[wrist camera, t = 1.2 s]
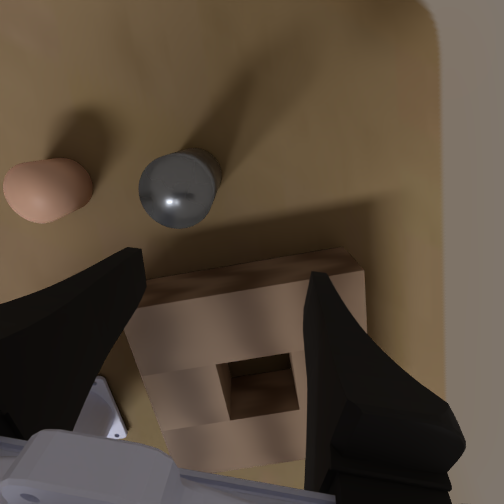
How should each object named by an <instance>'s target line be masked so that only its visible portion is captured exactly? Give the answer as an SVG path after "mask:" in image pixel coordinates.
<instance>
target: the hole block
mask: <svg viewBox="0 0 504 504" xmlns="http://www.w3.org/2000/svg"><path fill="white" fill-rule="evenodd" d="M311 271H316V272H323V273H327V274H328V276H329V278H330V279H331V281H332V283H333V285H334V287H335V289H336V290H337V292H338V294H339V295H340V297H341V299H342V300H343V302H344V303H345V305H346V306H347V308H348V309H349V311H350V312H351V314H352V315H353V317H354V318H355V319H356V321H357V322H358V323H359V325H360V326H361V327H362V328H363V330H364V331H365V332H366V333H367V317H366V296H365V275H364V269H363V268H362V267H361V266H360V265H359V264H358V263H357V262H356V261H355V259H354V258H353V257H352V256H351V255H350V254H349V253H348V252H347V251H346V249H345V248H344V247H338V248H332V249H326V250H320V251H314V252H308V253H302V254H297V255H291V256H285V257H279V258H273V259H267V260H261V261H255V262H249V263H243V264H237V265H232V266H226V267H220V268H214V269H208V270H202V271H196V272H190V273H184V274H178V275H172V276H167V277H161V278H155V279H149V280H146V284H147V287H146V290H145V292H144V294H143V297H142V299H141V301H140V303H139V305H138V307H137V309H136V310H135V312H134V314H133V315H132V317H131V319H130V320H129V322H128V323H127V325H126V326H125V328H124V332H125V334H126V337H127V340H128V343H129V345H130V348H131V351H132V353H133V356H134V359H135V362H136V364H137V367H138V370H139V372H140V375H141V378H142V381H143V383H144V386H145V389H146V391H147V394H148V397H149V400H150V402H151V405H152V408H153V410H154V413H155V416H156V418H157V421H158V424H159V427H160V429H161V432H162V435H163V437H164V440H165V443H166V446H167V448H168V451H169V454H170V456H171V457H172V459H173V460H174V462H175V463H176V465H177V467H178V468H183V469H189V470H195V471H200V472H206V473H217V472H223V471H230V470H237V469H243V468H250V467H256V466H263V465H270V464H276V463H283V462H289V461H296V460H303V459H306V428H307V375H306V363H305V351H304V339H303V309H304V304H305V299H306V294H307V289H308V285H309V280H310V275H311ZM284 353H289V359H290V366H291V369H286V370H280V371H274V372H267V373H261V374H255V375H248V376H242V377H236V378H231V374H230V369H229V365H228V362H234V361H240V360H246V359H253V358H259V357H265V356H271V355H277V354H284Z"/></svg>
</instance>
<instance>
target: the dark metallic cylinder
mask: <svg viewBox="0 0 504 504" xmlns="http://www.w3.org/2000/svg"><path fill="white" fill-rule="evenodd" d="M220 183H221V169H220V166H219V163H218V162H217V160H216V159H215V157H214V156H213V155H212V154H210V153H209V152H207V151H205V150H203V149H199V148H189V149H185V150H182V151H178V152H175V153H172V154H168V155H165V156H162V157H159V158H157V159H155V160H154V161H152V162H151V163H150V164H149V165H148V166H147V167H146V168H145V170H144V171H143V173H142V175H141V178H140V181H139V196H140V200H141V203H142V205H143V207H144V209H145V210H146V212H147V213H148V214H149V216H150V217H151V218H153V219H154V220H155V221H156V222H158V223H160V224H161V225H164V226H166V227H170V228H176V229H181V228H188V227H191V226H194V225H195V224H197V223H199V222H200V221H201V220H202V219H204V218H205V216H206V215H207V214H208V212H209V210H210V208H211V206H212V203H213V201H214V198H215V196H216V193H217V191H218V188H219V186H220Z"/></svg>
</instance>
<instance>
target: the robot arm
mask: <svg viewBox="0 0 504 504" xmlns="http://www.w3.org/2000/svg"><path fill="white" fill-rule="evenodd" d="M146 287H147V284H146V277H145V270H144V263H143V256H142V249H138V248H130V247H127V248H125V249H123V250H121V251H119V252H117V253H115V254H113V255H111V256H109V257H108V258H106V259H104V260H102V261H100V262H98V263H97V264H95V265H93V266H91V267H89V268H87V269H85V270H84V271H81V272H79V273H77V274H75V275H73V276H71V277H69V278H67V279H65V280H63V281H61V282H59V283H57V284H54V285H52V286H50V287H47V288H45V289H42V290H40V291H37V292H35V293H32V294H30V295H27V296H24V297H21V298H18V299H15V300H12V301H9V302H6V303H3V304H0V504H452V502H451V499H450V496H449V494H448V491H451V490H452V486H451V482H450V480H449V477H448V474H447V472H448V471H449V470H450V468H451V467H452V466H453V465H454V464H455V463H456V462H457V461H458V459H459V458H460V457H461V456H462V454H463V452H464V450H465V448H466V441H465V438H464V436H463V434H462V431H461V429H460V426H459V424H458V422H457V420H456V418H455V416H454V414H453V412H452V410H451V408H450V406H449V404H448V403H447V402H445V401H444V400H443V399H441V398H440V397H438V396H437V395H436V394H434V393H433V392H431V391H430V390H429V389H427V388H426V387H424V386H423V385H422V384H420V383H419V382H418V381H417V380H415V379H414V378H413V377H412V376H410V375H409V374H408V373H407V372H405V371H404V370H403V369H402V368H401V367H400V366H399V365H397V364H396V363H395V362H394V361H393V360H392V359H391V358H390V357H389V356H388V355H387V354H386V353H385V352H384V351H382V350H381V349H380V348H379V346H378V345H377V344H376V343H375V342H374V341H373V340H372V339H371V338H370V337H369V336H368V334H367V333H366V332H365V331H364V330H363V328H362V327H361V326H360V325H359V323H358V322H357V321H356V319H355V318H354V317H353V315H352V314H351V312H350V311H349V309H348V308H347V306H346V305H345V303H344V302H343V300H342V299H341V297H340V295H339V294H338V292H337V290H336V289H335V287H334V285H333V283H332V281H331V279H330V278H329V276H328V274H327V273H323V272H316V271H311V275H310V280H309V285H308V289H307V294H306V299H305V304H304V309H303V339H304V351H305V363H306V375H307V428H306V459H305V483H304V490H302V489H296V488H290V487H285V486H279V485H274V484H268V483H262V482H257V481H251V480H245V479H240V478H234V477H228V476H223V475H217V474H212V473H206V472H200V471H195V470H189V469H183V468H178V467H177V465H176V463H175V462H174V460H173V459H172V457H171V456H169V455H168V454H166V453H164V452H163V451H161V450H160V449H158V448H154V447H151V446H148V445H145V444H141V443H136V442H130V441H124V440H119V439H120V438H125V437H126V436H127V433H128V432H127V429H126V427H125V424H124V422H123V420H122V417H121V415H120V412H119V410H118V408H117V405H116V403H115V401H114V398H113V396H112V393H111V391H110V389H109V386H108V384H107V382H106V379H105V378H104V377H102V376H97V375H98V373H99V371H100V369H101V367H102V365H103V363H104V361H105V359H106V357H107V355H108V353H109V352H110V350H111V348H112V347H113V345H114V344H115V342H116V340H117V339H118V337H119V336H120V334H121V333H122V331H123V329H124V328H125V326H126V325H127V323H128V322H129V320H130V319H131V317H132V315H133V314H134V312H135V310H136V309H137V307H138V305H139V303H140V301H141V299H142V297H143V294H144V292H145V290H146ZM94 381H95V382H96V383H95V382H94Z"/></svg>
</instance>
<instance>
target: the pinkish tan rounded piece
mask: <svg viewBox="0 0 504 504" xmlns="http://www.w3.org/2000/svg"><path fill="white" fill-rule="evenodd" d="M3 189H4V194H5V197H6V200H7V202H8V203H9V205H10V206H11V208H12V209H13V210H14V211H15V212H16V213H17V214H19V215H20V216H21V217H23V218H25V219H27V220H29V221H32V222H35V223H49V222H52V221H54V220H57V219H59V218H61V217H63V216H65V215H67V214H69V213H71V212H73V211H75V210H77V209H79V208H82V207H83V206H85V205H86V204H87V203H88V202H89V201H90V199H91V197H92V193H93V184H92V180H91V178H90V175H89V174H88V172H87V171H86V170H85V168H84V167H83V166H81V165H80V164H79V163H77V162H76V161H74V160H71V159H68V158H53V159H46V160H39V161H32V162H26V163H20V164H17V165H15V166H14V167H12V168H11V169H10V170H9V171H8V172H7V174H6V176H5V178H4V183H3Z"/></svg>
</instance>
